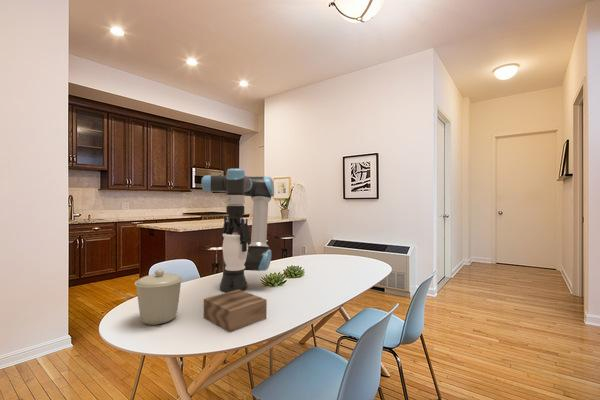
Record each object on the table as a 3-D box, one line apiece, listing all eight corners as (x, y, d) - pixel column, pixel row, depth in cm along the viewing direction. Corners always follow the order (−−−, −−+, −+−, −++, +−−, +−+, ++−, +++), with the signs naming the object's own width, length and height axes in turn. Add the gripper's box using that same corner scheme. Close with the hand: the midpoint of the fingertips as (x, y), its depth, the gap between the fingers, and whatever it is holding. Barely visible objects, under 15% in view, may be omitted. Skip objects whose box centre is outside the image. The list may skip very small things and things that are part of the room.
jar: (235, 273, 118) (235, 235, 118) (217, 269, 124) (217, 233, 123) (252, 267, 127) (252, 233, 127) (235, 264, 133) (235, 231, 132)
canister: (174, 328, 115) (174, 274, 115) (125, 330, 113) (125, 275, 113) (187, 311, 133) (188, 264, 133) (146, 312, 131) (146, 264, 131)
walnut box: (203, 317, 126) (203, 298, 126) (238, 306, 139) (238, 289, 139) (230, 332, 112) (230, 311, 112) (266, 318, 125) (266, 299, 125)
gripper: (213, 204, 130) (213, 254, 130) (244, 206, 115) (244, 263, 115) (228, 204, 136) (227, 252, 136) (259, 205, 120) (259, 260, 120)
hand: (235, 257), depth 125 cm, fingers closed on jar, 10 cm apart
